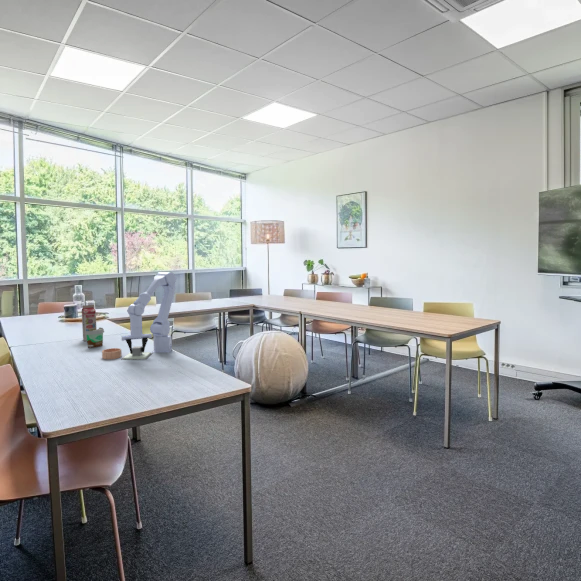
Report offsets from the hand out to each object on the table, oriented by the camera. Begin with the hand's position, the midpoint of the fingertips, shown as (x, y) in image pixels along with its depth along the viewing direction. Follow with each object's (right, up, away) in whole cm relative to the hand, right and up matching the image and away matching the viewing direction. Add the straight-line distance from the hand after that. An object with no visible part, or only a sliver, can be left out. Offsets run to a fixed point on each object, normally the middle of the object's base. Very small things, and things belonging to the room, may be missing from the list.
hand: (137, 352), depth 216 cm
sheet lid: (0, -2, 0) cm, 2 cm away
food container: (-33, 0, +26) cm, 42 cm away
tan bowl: (-13, -3, -1) cm, 13 cm away
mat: (0, -2, 0) cm, 2 cm away
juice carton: (-46, +1, +43) cm, 63 cm away
